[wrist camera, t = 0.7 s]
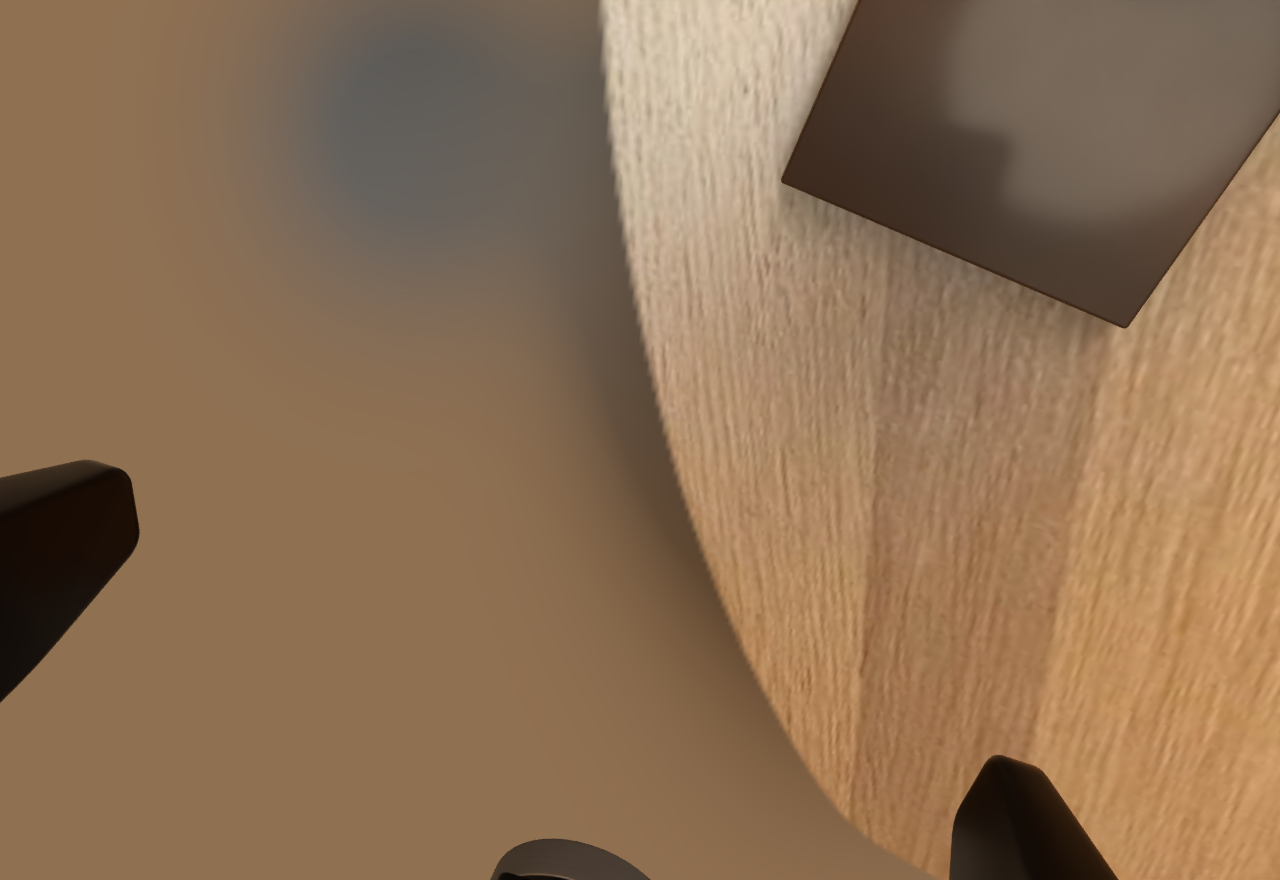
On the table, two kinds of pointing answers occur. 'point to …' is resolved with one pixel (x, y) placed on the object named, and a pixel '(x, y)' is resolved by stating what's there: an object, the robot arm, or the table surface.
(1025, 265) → the book trough
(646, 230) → the table surface
